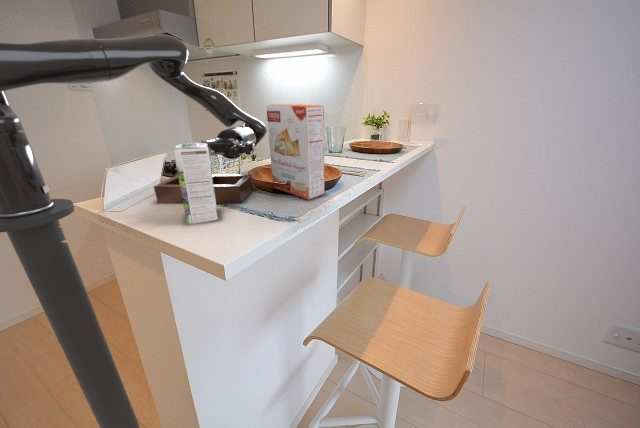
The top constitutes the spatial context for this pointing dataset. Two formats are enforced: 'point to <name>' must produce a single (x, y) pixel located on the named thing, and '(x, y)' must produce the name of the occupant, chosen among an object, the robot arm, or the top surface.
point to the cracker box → (297, 148)
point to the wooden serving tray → (224, 188)
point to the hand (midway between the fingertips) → (212, 152)
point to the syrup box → (196, 182)
